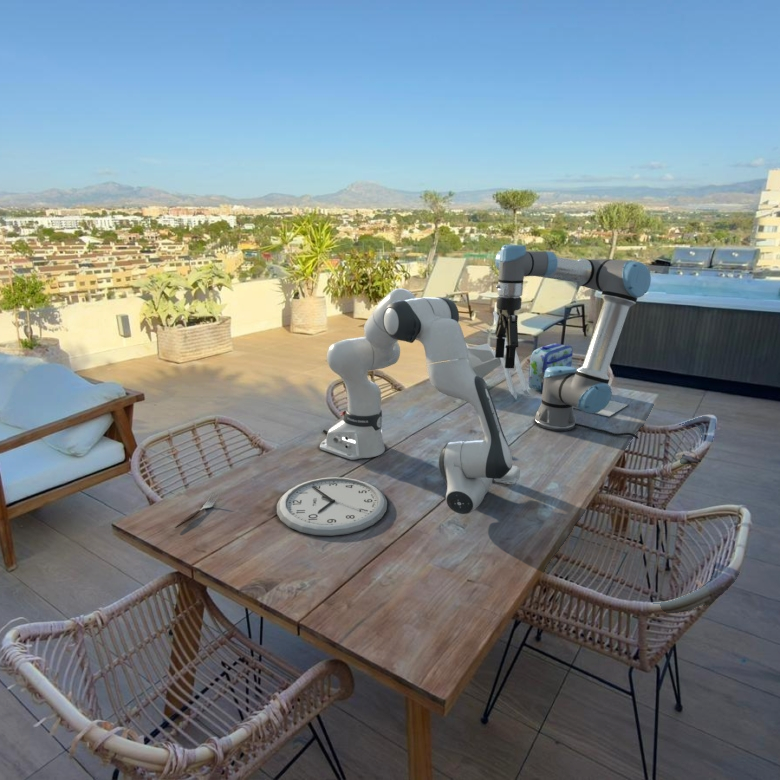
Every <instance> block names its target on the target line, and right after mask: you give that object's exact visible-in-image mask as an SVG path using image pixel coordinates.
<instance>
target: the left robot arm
mask: <svg viewBox="0 0 780 780" xmlns="http://www.w3.org/2000/svg"><path fill="white" fill-rule="evenodd" d="M459 321H460V313H459V309H458V306H457V305H456V303H455V302H454V301H453V300H452V299H450V298H447V297H442V296H436V297H418V298H416V296H415V295H414V294H413V293H412V292H411V291H410V290H408V289H405V288H395V289H393V290H391V291H390V292H389V293H387V294H386V296H384V297H383V298H382V299H381V301H379V303H378V304H377V305H376V307H375V308H374V309H373V311H372V312H371V314H369V316H368V319H367V320H366V321H365V323H364V325H363V334H364V336H362V337H353V338H347V339H346V338H345V339H342V340H340V341H337V342H334V343H332V344H330V345H329V347H328V349H327V351H326V352H327V353H326V362H327V365H328V367H329V368H330V370H331V371H332V372H333V373H335V374H336V375H338V376H339V378H341V379H342V382H343V383H344V386H345V389H346V400H347V401H346V402H347V408H346V409H344V410H343V411H342V412H341V413H340V417H343V418H342V419H341V420H340V421H338V422H336V423H335V424H334V425H332V426H331V427H330V428H329V429H328V430H326V429H323V430H322V433H324V434H325V435H326V438H325V439H323V440H322V441H321V442H320V444H319V449H320V450H322V451H323V452H324V451H325V452H327V453H330V454H333V455H336V456H339V457H341V458H344V459H346V460H349V461H354V460H359V459H368V458H374V457H375V458H376V457H378V456H380V455H382V454H383V453H385V451H386V447H385V444H384V440H383V434H382V433H383V430H382V427H383V411H382V408H381V407H382V406H381V405H382V390H381V388H380V386H379V385H378V384H377V383H375V382H374V381H372V380H370V379H369V377H368V372H369V371H370V372H371V371H376V370H381V369H387V368H388V367H391V366H393V365H395V364H396V363H398V361H399V359H400V356H401V347H400V344H399V342H398V341H402V342H407V343H410V344H413V343H414V342H415V340H416V341H418V342H420V343H421V344H422V346H423V349H424V355H425V362H426V370H427V375H428V379H429V382H430V384H431V385H432V387H433V388H434V389H435V390H437V391H438V392H439V393H441V394H443V395H446V396H448V397H452V398H456V399H459V400H462V401H464V402H467V403H468V404H470V405H471V406H472V407H473V408H474V409H475V411H476V414H477V417H478V420H479V423H480V426H481V429H482V433H483V436H484V439H474V440H456V441H455V440H454V441H448V442H447V443H446V444H445V445H444V446H443V448H442V449H441V452H440V454H439V457H438V467H439V468H438V469H439V472H440V475H441V477H442V479H443V480H444V482H445V484H446V486H447V487H446V493H445V501H446V505H447V506H448V508H449V509H450V510H451V511H453V512H454V513H457V514H460V515H468V514H470V513H472V512H474V511H475V510H476V509H478V507H479V506H480V505H481V503H482V502H483V500H485V497H486V494H487V493H489V490H490V489H491V487H492V486H493V485H497V486H502V487H512V486H515V485H516V484H517V482H518V481H519V480H520V474H521V469H520V467H519V466H517V465H514V464H513V454H512V451H511V448H510V445H509V443H508V441H507V439H506V436H505V434H504V431H503V428H502V426H501V422H500V418H499V419H498V416H499V415H498V412H497V410H496V406H495V403H494V401H493V397H492V394H491V393H490V389H489V387H488V385H487V383H486V381H485V379H484V377H483V378H481V377H479V376H477V375H476V374H475V372H474V371H473V369H472V367H471V365H470V362H469V358H468V357H469V356H468V351H467V346H466V344H467V343H466V342H467V341H466V337H465V335H464V332H463V330H462V326H461V325H460V322H459ZM461 358H466V359H461ZM455 359H459V360H455ZM450 360H452V361H450Z"/></svg>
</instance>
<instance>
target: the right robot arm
mask: <svg viewBox="0 0 780 780" xmlns="http://www.w3.org/2000/svg"><path fill="white" fill-rule="evenodd" d="M494 264H495V267H496V269H497V270H498V281H497V284H498V285H496V286H495V288H496V289H497V295H498V296H497V297H496V309H498V321H497V325H495V326H496V327H495V331H494V334H495V337H496V340H495V350H496V352H495V358H504V347H505V348H506V359H505V368H509V369H515V363H514V362H515V351H516V352H517V348H519V330H518V318H519V316H518V314H515V311H520V310H521V309H522V301H523V300H522V299H523V298H522V297H521V296H523V293H524V292H523V289H524V279H525V277H538V278H544V279H552V280H557V281H566V282H572V283H573V285H575V286H578V287H584V288H587V289H591V290H594V291H597V292H600V293H601V294H600V296H601V299H602V300H603V302H602V306H601V308H600V311H599V315H598V319H597V321H596V324H595V327H594V330H593V333H592V336H591V339H590V342H589V345H588V348H587V351H586V355H585V357H584V360H583V363H582V366H581V367H579V368H577V367H574V366H571V367H567V366H555V367H549V368H547V369H546V370H545V375H544V380H543V390H542V391H541V402H540V405H539V407H538V410H537V411H536V413H535V416H534V424H535V425H536V426H537V427H539V428H542V429H544V430H549V431H556V432H567V431H572V430H574V429H575V428H576V427H579V428H580V427H581V428H583V429H584V428H585V429H588V430H592V431H595V432H600V433H605V434H608V435H610V436H616V437H620V436H621V437H622V436H631V437H634V438H635V439H637V440H639V439H640V438H639V437H638V435H636V433H633V432H612V431H609V430H606V429H600V428H597V427H592V426H588V425H586V424H582V423H577V422H576V418H575V417H576V416H575V413H574V409H576V408H578V409H577V410H579V411H581V412H586V413H588V414H596V413H597V412H599V411H601V410H602V409H604V408H605V407H606V406H607V405H608V403H609V401H611V399H612V396H613V392H612V388H611V386H610V385H609V382H610V377H609V375H608V371H609V368H610V365H611V362H612V359H613V356H614V352H615V350H616V348H617V345H618V341H619V339H620V336H621V333H622V331H623V327H624V324H625V321H626V319H627V316H628V313H629V310H630V308H631V307H632V306H634V305H636V304H637V301H638V298H641V297H644V296H645V295H646V294H647V293H648V291H649V289H650V287H651V282H652V277H651V273H650V270H649V268H648V266H647V265H646V264H645V263H643V262H642V261H641V262H640V261H636V260H625V259H612V258H599V259H597V258H595V259H591V258H579V259H578V260H576V259H571V258H565V257H560V256H557V255H556V253H554V252H553V251H548V250H540V251H539V250H527V247H526V245H523V244H504V245H502V246H501V248H500V250H499V251H498V252H497V253H496V255H495V259H494ZM505 338H506V340H507V345H506V346H505ZM574 407H575V408H574Z"/></svg>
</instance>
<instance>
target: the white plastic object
mask: <svg viewBox="0 0 780 780" xmlns="http://www.w3.org/2000/svg"><path fill="white" fill-rule="evenodd" d="M492 315H493V319H494V321H495V324H496V325H495V326H497V321H498V316H499V313H498V312H497V311H496V310H495V311H492ZM506 345H507V337H506V338H505V346H506ZM466 346H467V351H468V356H469V357H468V358H469V362H470V365H471V367H472V369H473V371H474V372H475V374H476V375H477V376H479V377H481V378H483V379H484V378H485V377H486V376H487V375H489V374H490V373H492V372H494V371H495V370H496V369H497V368H499V367H500V366H502V370H503V373H504V376H505V380H506V383H507V386H508V390H509V393H510V394H511V395H512V397H513V398H514V399H515V400H517V392H516V391H517V390H516V388H515V385H514V381H513V378H512V375H511V371H510V368H505V359H506V348H505V347H504V358H495V352H496V349H493V348H492V347H491V346H490V344H489V343H488V342H487V343H483V344H479V345H473V346H469V345H468V343H466ZM461 359H466V358H461ZM455 360H459V359H455ZM449 361H452V360H449ZM514 367H515V369H516V372H517V376H518V380H519V382H520V385H521V389H522V391H523V393H524V395H525V396H526V397H528V396H531V395H530V390H529V386H528V384H527V381H526V378H525V375H524V371H523V369H522V368H523V367H522V366H521V362H520V359H519V355H518V352H517V350H516V351H515V362H514Z"/></svg>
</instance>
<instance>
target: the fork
mask: <svg viewBox="0 0 780 780" xmlns="http://www.w3.org/2000/svg"><path fill="white" fill-rule="evenodd" d="M219 496H220V494H218V493H213V492H212V493H211V494H210V497H208V500H207V501H206V502H205V503H204V504H203V505H202V507H201V508H200V509H198V510H196V511H194V512H193V513H191V514H189V515H188V516H187V517H185V518H184V519H183V520H182V521H181V522H179V523H178V524H177V525H175V527H174V528H175V529H177V528H179V527H180V526H182V525H184V524H185V523H187V522H189V521H190V520H192V519H194V517H196V516H197V515H198V514H199V513H201V511H203V510H204V509H210V508H212V507H213V506H214V505H215V504H216V502H217V500H218V498H219Z"/></svg>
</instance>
